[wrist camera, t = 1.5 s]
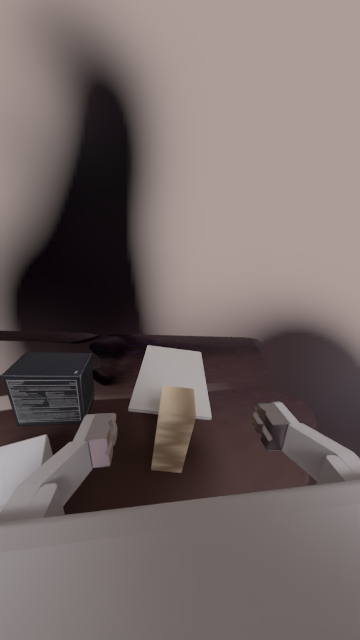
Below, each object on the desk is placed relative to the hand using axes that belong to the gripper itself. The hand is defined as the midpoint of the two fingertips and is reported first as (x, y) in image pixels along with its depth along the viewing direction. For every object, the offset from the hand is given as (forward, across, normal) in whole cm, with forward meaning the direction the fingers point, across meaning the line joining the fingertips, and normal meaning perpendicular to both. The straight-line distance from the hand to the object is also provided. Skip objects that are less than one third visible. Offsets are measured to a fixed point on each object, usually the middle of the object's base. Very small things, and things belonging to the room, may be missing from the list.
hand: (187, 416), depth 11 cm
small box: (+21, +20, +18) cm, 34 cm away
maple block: (+13, +1, +21) cm, 24 cm away
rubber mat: (+31, -1, +19) cm, 36 cm away
